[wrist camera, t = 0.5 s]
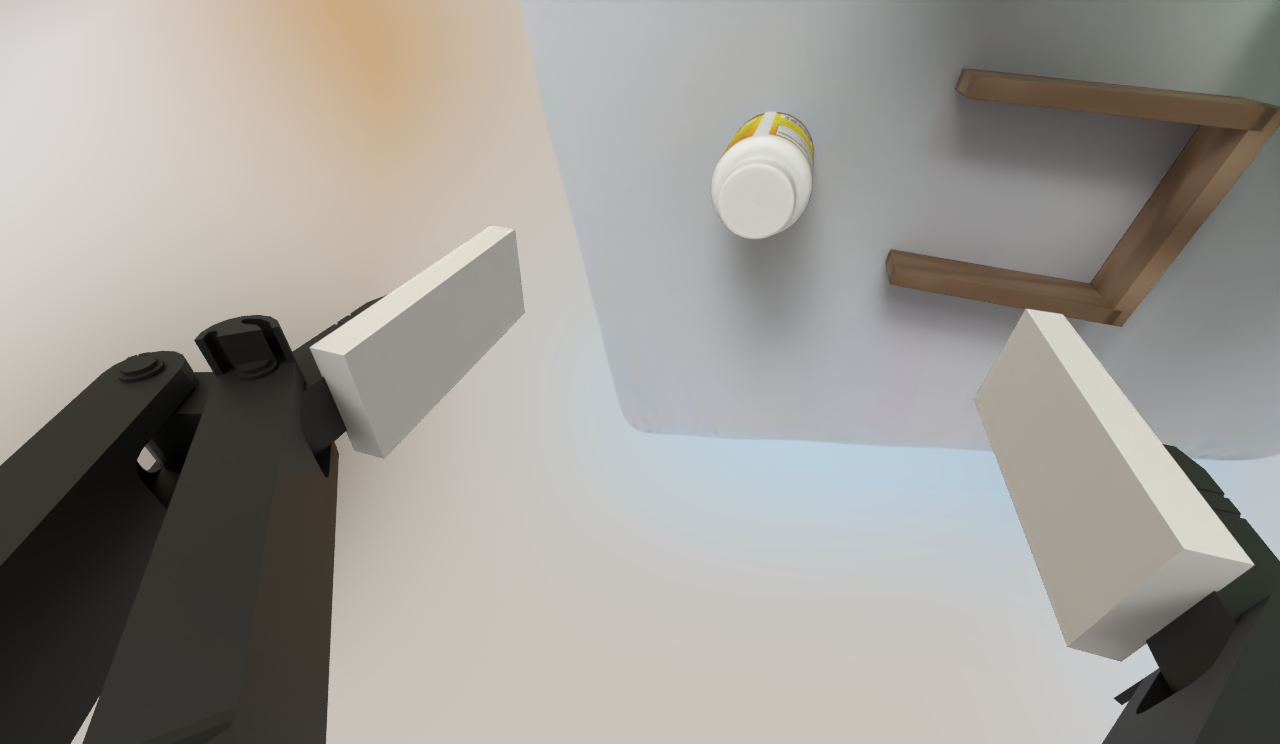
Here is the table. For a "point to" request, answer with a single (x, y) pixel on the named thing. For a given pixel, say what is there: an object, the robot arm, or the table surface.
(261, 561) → the robot arm
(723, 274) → the table surface
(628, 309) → the table surface
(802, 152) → the supplement bottle
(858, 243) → the table surface
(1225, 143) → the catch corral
